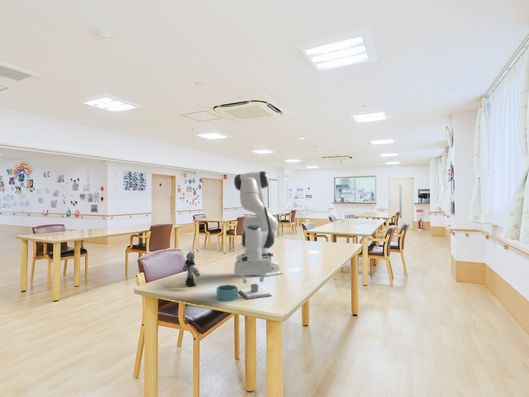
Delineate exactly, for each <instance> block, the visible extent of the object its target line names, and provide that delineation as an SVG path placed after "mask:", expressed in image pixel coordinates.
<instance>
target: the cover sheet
mask: <svg viewBox="0 0 529 397" xmlns="http://www.w3.org/2000/svg"><path fill="white" fill-rule="evenodd" d="M239 291H240V292H242V293H243V294H244V295H245V296H246V297H247V298H251V297H259V296H266V295H269V294H270V292H268V291H267V290H265V289H264V288H263V287H261V286H259V285H258V284H257V283H253V284H250V288H249V287H248V288H242V289H240V290H239Z"/></svg>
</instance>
